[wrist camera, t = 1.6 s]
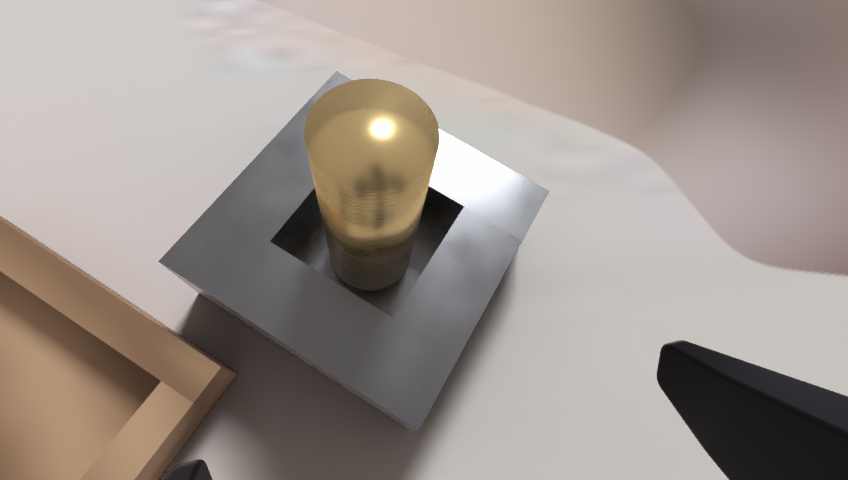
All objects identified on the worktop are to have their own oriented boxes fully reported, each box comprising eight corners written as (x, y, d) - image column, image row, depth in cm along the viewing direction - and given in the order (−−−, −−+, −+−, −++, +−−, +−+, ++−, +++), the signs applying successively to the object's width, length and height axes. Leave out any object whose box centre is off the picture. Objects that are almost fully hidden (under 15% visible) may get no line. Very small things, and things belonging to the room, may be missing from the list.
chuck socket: (408, 429, 20) (418, 430, 16) (198, 292, 22) (158, 261, 17) (519, 229, 25) (549, 191, 21) (341, 127, 26) (336, 71, 22)
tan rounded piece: (382, 306, 21) (394, 216, 12) (314, 263, 22) (275, 145, 13) (424, 241, 23) (463, 119, 14) (359, 203, 23) (354, 59, 14)
